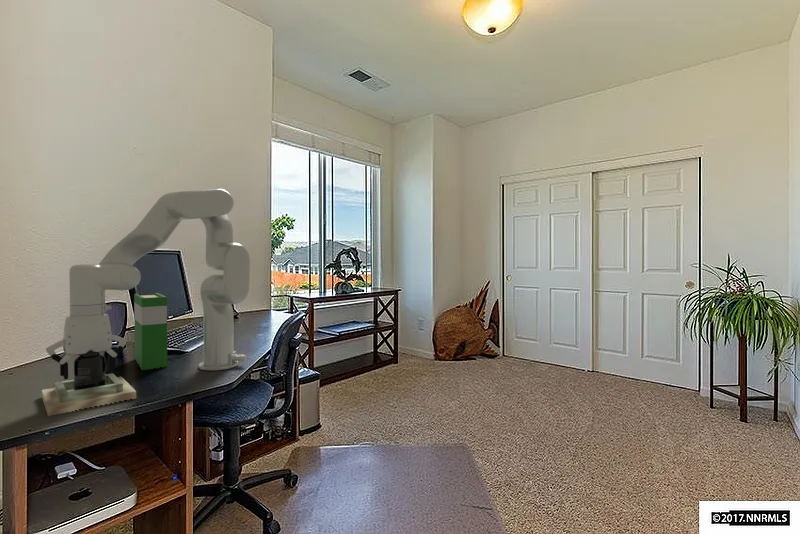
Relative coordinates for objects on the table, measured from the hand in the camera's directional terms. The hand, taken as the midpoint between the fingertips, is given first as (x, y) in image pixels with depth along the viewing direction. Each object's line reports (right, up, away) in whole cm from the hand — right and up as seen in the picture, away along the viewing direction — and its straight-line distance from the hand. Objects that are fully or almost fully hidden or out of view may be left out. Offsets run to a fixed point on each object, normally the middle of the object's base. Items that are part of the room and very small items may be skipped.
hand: (88, 374), depth 111 cm
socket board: (0, -6, 0) cm, 6 cm away
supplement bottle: (0, -5, 0) cm, 5 cm away
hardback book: (-5, -5, +36) cm, 37 cm away
